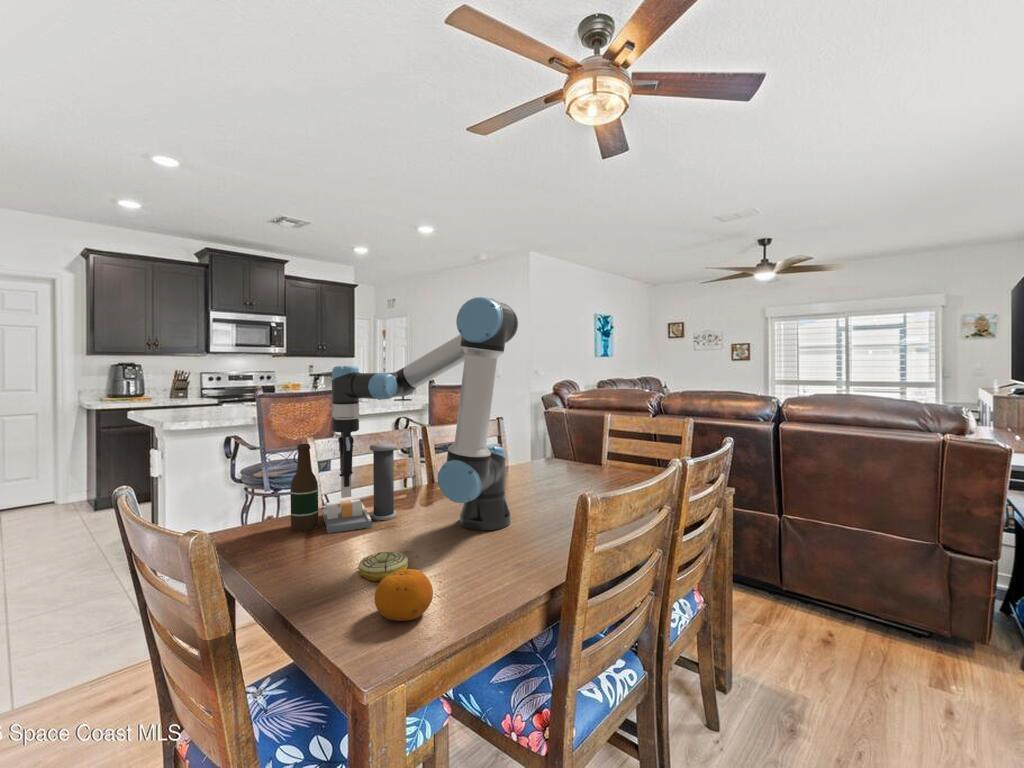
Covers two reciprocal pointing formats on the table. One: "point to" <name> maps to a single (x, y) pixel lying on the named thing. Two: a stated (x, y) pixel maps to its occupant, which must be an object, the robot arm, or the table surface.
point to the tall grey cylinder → (383, 481)
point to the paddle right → (356, 507)
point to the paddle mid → (346, 508)
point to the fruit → (403, 595)
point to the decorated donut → (382, 565)
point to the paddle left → (332, 510)
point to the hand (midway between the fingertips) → (346, 496)
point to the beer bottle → (304, 493)
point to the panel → (347, 521)
